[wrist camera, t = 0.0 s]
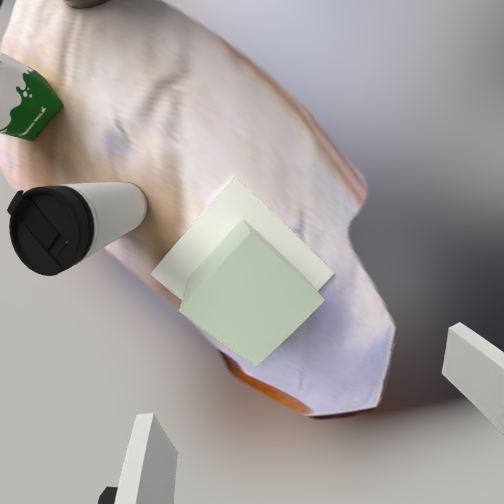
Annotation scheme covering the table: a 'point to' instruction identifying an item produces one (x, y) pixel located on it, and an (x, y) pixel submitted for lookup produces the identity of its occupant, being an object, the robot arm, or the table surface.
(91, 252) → the travel mug
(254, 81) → the table surface
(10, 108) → the milk carton
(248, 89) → the table surface
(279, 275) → the mint green block
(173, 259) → the board
